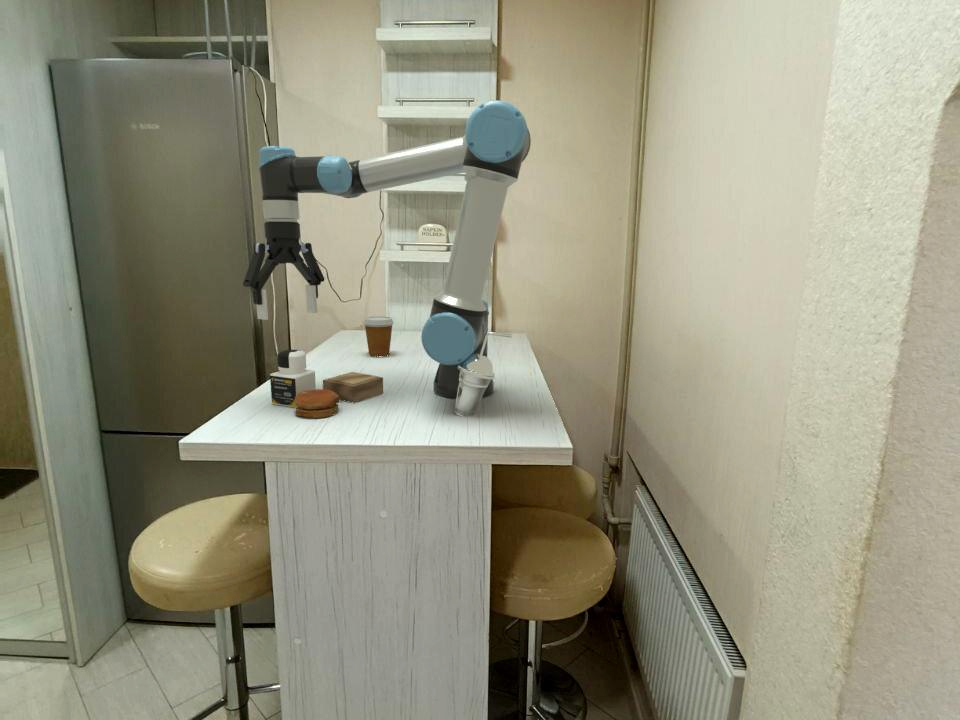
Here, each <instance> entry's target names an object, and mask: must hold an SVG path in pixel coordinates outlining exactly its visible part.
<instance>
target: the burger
mask: <svg viewBox="0 0 960 720" xmlns="http://www.w3.org/2000/svg"><path fill="white" fill-rule="evenodd" d="M340 401H341V400H340V398H339V396H338V395H337V394H336V393H335V392H333V391H330V390H325V389H323V388H321V389H316V390H307V391H303V392H300V393H299V394H297V396H296V397H295V404H296V405H297V406H298V407H297V408H295V412H294V413H295V415H296V416H298V417H304V418H309V419H310V418H311V419H323V418H328V416H329V417H332V416H334V415H333V414H335V413H336V414H337V413H338V412H339V404H338V403H340ZM336 414H335V415H336ZM331 415H332V416H331Z"/></svg>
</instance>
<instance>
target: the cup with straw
mask: <svg viewBox="0 0 960 720" xmlns="http://www.w3.org/2000/svg"><path fill="white" fill-rule="evenodd" d="M490 335H491V336H498V337H505V338H512V337H513V336H512V335H513V334H511V333H504V332H495V331H488V332H487V333H486V334H485V336H484V340H483V343H482V346H481V350H480V353H479V354H472V355H470V356H469V357H468V358H467V359H466V360H465V361H463V362H462V363H459V365H458V367H457V368H458V369H459V370H460V373H459V385H458V391H457V396H456V398H455V404H454V410H453V413H454V414H455V415H457V416H460V417H470V416H471V415H472V416H474V415H475V414H476V412H477V410H478V408H479V405H480V404H481V401H482V399H483V394H484V392H485V389H486V388H487V386H488V385H489V383H490V380H491V379H493V380H495V379H496V377H495V376H496V374H495V372H494V368H493V363H492V361H491V360H490V358H488V356H487V357H486V356H484V355H483V351H484V348H485V344H486V341H487V337H488V338H489V336H490Z"/></svg>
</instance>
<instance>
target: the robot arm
mask: <svg viewBox="0 0 960 720" xmlns="http://www.w3.org/2000/svg"><path fill="white" fill-rule="evenodd" d="M531 140H532V139H531V134H530V130H529V128H528V124H527V120H526V119H525V116H524V114H523V113H522V112H521V111H520V110H519V109H518V108H517V107H515V106H514V105H513V104H511V103H510V102H507V101H504V100H498V99H497V100H489V101H486V102H484V103H481V104H480V105H479V106H478V107H476V108H475V109H474V110H473V111H472V113H471V114H470V116H469V117H468V119H467V122H466V125H465V134H464V135H463V136H460V137H456V138H452V139H446V140H443V141H438V142H434V143H427V144H425V145H420V146H415V147H411V148H407V149H402V150H397V151H394V152H388V153H384V154H383V153H382V154H379V155H376V156H371V157H367V158H366V157H365V158H361V159H359V160H353V161H348V160H347V158H345V157H344V156H341V155H340V156H338V155H336V156H335V155H331V154H329V155H327V154H326V156H324V155H323V156H321V155H320V156H319V155H318V156H297V155H296V151H295V150H294V149H293V148H292V147H287V146H281V145H279V146H276V145H266V146H262V148H260V150H259V153H258V155H259V157H258V159H259V167H258V170H259V172H260V184H261V186H260V187H261V193H262V194H261V195H262V197H261V198H262V199H261V200H262V212H263V219H265V220H266V221H265V222H264V223H263V226H264V237H265V239H266V244H265V243H263V242H262V243H261V242H258V243H257V242H255V243H253V251H252V252H253V253H252V257H251V260H250V262H249V265H248V269H247V271H246V274H245V276H244V279H243V283H242V285H243V287H244V288H247V289H248V288H249V290H252V299H253V300H252V301H253V305H256V314H257V320H264V321H266V320H269V313H268V312H269V311H268V299H267V289H263V288H264V286H265V284H267V282H268V279H269V278H270V276H271V275H272V273H273V272H274V270H275V268H276V267H277V266H279V265H281V264H292V265H293V266H294V267H295V269H296V270H297V271H298V272H299V273H300V274H301V276H302V277H303V279H305V281H306V283H307V284H305V296H306V297H305V298H306V311H307V313H310V314H317V313H318V304H317V303H318V302H317V299H318V298H319V291H318V290H319V287H318V286H321V284H322V282H325V277H324V275H323V273H322V269H321V268H320V266H319V263H318V262H317V259H316V257H315V254H314V253H313V245H312V243H311V242H301V243H300V238H301V224H300V223H299V222H298V221H299V219H300V208H299V194H325V195H332V196H337V197H342V198H345V199H354V198H358V197H360V196H362V195H365V194H367V193H370V192H376V191H381V190H385V189H390V188H395V187H400V186H404V185H405V186H406V185H411V184H415V183H420V182H425V181H428V180H429V181H430V180H433V179H434V180H435V179H439V178H445V177H449V176H454V175H459V174H464V173H465V175H466V177H467V180H466V184H465V189H464V193H463V197H462V202H461V206H460V211H459V216H458V219H457V224H456V229H455V234H454V238H453V242H452V248H451V251H450V256H449V260H448V266H447V269H446V275H445V280H444V284H443V288H442V290H441V291H440V292H438V293H437V294H436V295H434V297H433V300H432V305H431V309H430V313H429V318H428V319H426V322H425V323H424V326H423V327H422V330H421V335H420V336H421V339H420V340H421V344H422V347H423V350H424V351H425V353H426V354H427V356H428V357H430V358H431V359H432V360H433V361H435V362H436V363H439V364H438V367H437V370H436V373H435V376H434V380H433V383H432V384H433V387H432V388H433V389H432V390H433V392H434V393H435V394H436V395H438V396H442V397H444V398H450V399H451V398H452V399H456V396H457V391H458V385H459V373H460V370H459V369H458V368H457V367H458V365H459V363H462V362H463V361H465V360H466V359H467V358H468V357H469V356H470V355H472V354H479V353H480V350H481V346H482V343H483V340H484V336H485V334H486V333H487V332H489V331H488V330H489V315H490V310H489V304H488V301H486V300H483V299H482V298H483V293H484V291H485V290H484V289H485V285H486V281H487V276H488V273H489V268H490V265H491V261H492V257H493V252H494V247H495V243H496V241H497V236H498V230H499V228H500V227H499V226H500V223H501V220H502V219H501V218H502V215H503V209H504V205H505V202H506V198H507V193H508V190H509V187H510V186H512V185H514V184H515V183H517V182H518V180H519V174H520V170H521V167H522V163H523V162H524V161H525V160H526V158H527V157H528V155H529V152H530V149H531V145H532V144H531ZM267 253H268V255H267V257H266V254H267ZM300 253H301V254H300ZM301 255H302V256H301ZM265 257H266V258H265ZM263 263H264V264H263ZM488 339H489V336H488V337H487V341H486V344H485V348H484V351H483V355H484V356H486V357H487V358H488V349H489V348H488V347H489V346H488V341H489V340H488ZM494 387H495V383H494V379H491V380H490V383H489V385H488V386H487V388H486V389H485V392H484V394H483V397H488V396H489V395H492V394H493V393H494V391H495V390H494V389H495V388H494ZM483 397H482V398H483Z"/></svg>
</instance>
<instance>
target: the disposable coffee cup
mask: <svg viewBox="0 0 960 720" xmlns="http://www.w3.org/2000/svg"><path fill="white" fill-rule="evenodd" d="M362 322H363V326H364V329H365V336H366V342H367V349H368V354H369V355H370V356H369V357H372V356H376V357H375V358H380V357H379V356H386V357H388V356H387V355H390V352H391V351H390V350H391V349H390V348H391V342H392V341H391V340H392V331H393V325H394V322H395V321H394V319H393V317H390V316H385V315H384V316H379V315H378V316H377V315H376V316H367V317H365V318H364V320H363V321H362ZM377 356H378V357H377Z"/></svg>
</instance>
